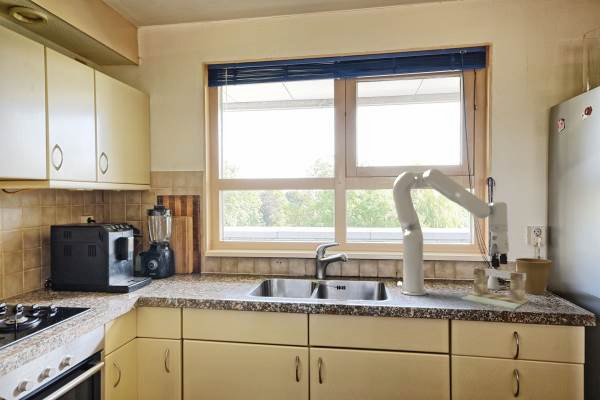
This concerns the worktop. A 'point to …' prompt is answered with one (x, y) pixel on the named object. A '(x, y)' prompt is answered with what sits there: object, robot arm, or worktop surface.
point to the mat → (491, 302)
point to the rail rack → (516, 294)
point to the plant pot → (534, 273)
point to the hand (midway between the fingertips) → (499, 265)
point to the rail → (500, 273)
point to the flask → (493, 283)
